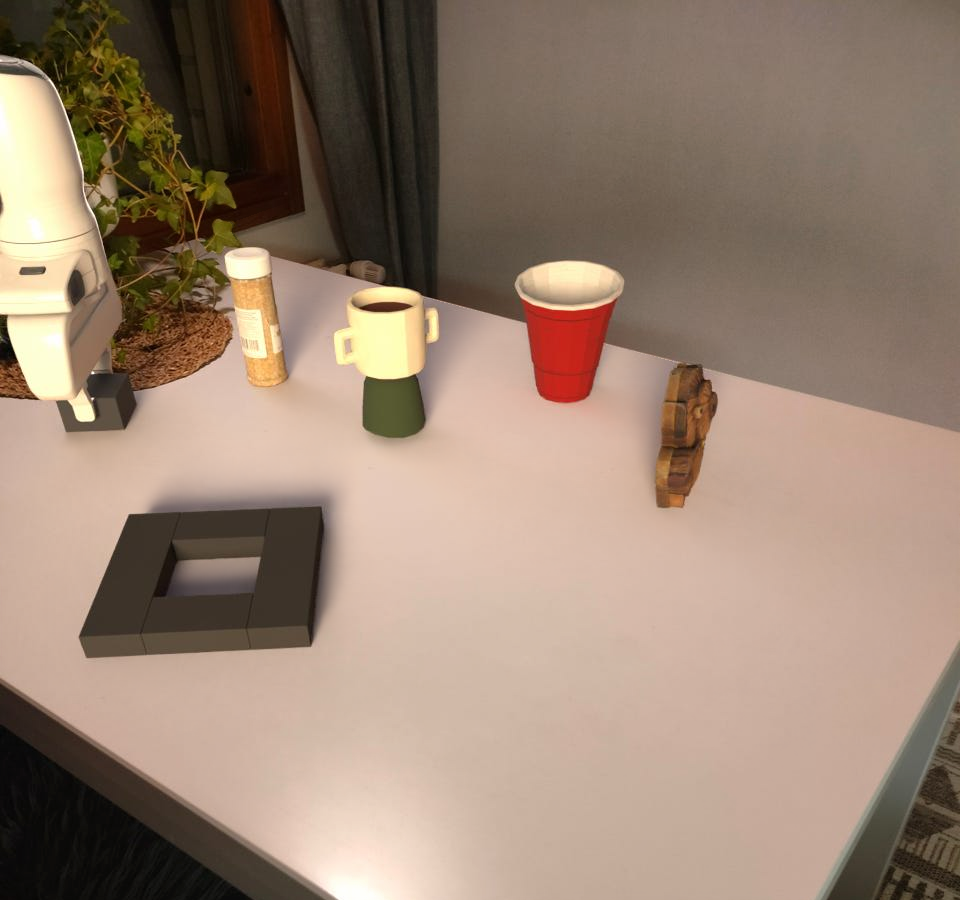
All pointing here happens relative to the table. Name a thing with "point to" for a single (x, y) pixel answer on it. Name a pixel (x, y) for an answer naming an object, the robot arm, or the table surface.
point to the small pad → (103, 404)
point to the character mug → (388, 356)
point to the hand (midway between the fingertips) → (97, 402)
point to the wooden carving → (683, 433)
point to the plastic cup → (567, 323)
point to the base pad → (207, 618)
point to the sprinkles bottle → (257, 315)
